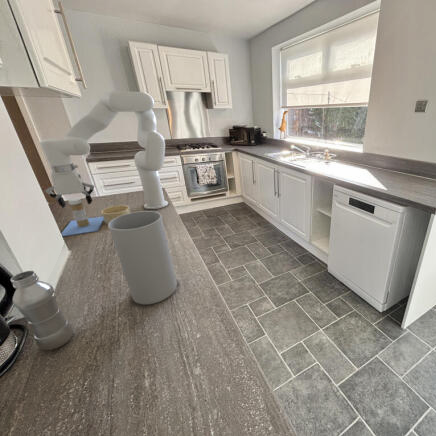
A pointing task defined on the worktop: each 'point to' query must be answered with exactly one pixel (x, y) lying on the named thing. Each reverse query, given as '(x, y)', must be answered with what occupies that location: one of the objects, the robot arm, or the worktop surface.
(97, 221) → the cloth
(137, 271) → the cylinder vase
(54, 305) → the plastic bottle
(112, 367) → the worktop surface
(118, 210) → the bowl
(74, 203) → the sprinkles bottle
